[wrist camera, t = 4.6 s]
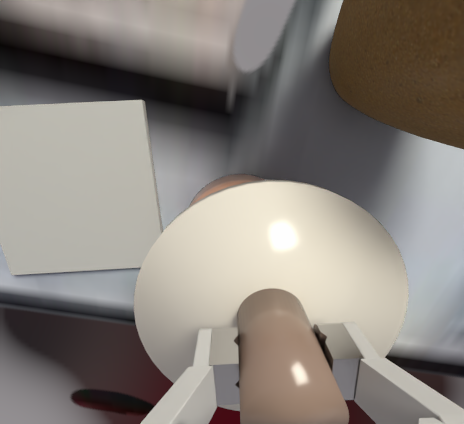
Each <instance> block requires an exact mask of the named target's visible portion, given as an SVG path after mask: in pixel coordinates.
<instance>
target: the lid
mask: <svg viewBox="0 0 464 424" xmlns="http://www.w3.org/2000/svg"><path fill="white" fill-rule="evenodd" d="M408 296H409V295H408V278H407V273H406V268H405V264H404V262H403V259H402V256H401V254H400V251H399V249H398V247H397V246H396V244H395V242H394V241H393V239H392V237H391V236H390V234H389V233H388V232H387V231H386V230H385V228H384V227H383V226H382V225H381V224H380V222H379V221H377V220H376V219H375V218H374V217H373V216H372V215H371V214H369V213H368V212H367V211H366V210H364V209H363V208H361V207H360V206H358V205H357V204H355V203H353V202H352V201H350V200H348V199H346V198H344V197H342V196H340V195H338V194H336V193H333V192H331V191H329V190H327V189H325V188H322V187H318V186H315V185H311V184H308V183H303V182H296V181H290V180H260V181H252V182H246V183H242V184H238V185H234V186H230V187H227V188H224V189H222V190H219V191H217V192H214V193H211V194H209V195H208V196H206V197H204V198H202V199H200V200H199V201H197V202H195V203H193V204H192V205H191V206H189V207H188V208H187V209H185V210H184V211H183V212H181V213H180V214H179V215H178V216H177V217H176V218H175V219H174V220H173V221H172V222H171V223H170V224H169V225H168V226H167V227H166V228H165V230H164V231H163V232H162V234H161V235H160V236H159V238H158V239H157V240H156V242H155V243H154V244H153V246H152V247H151V249H150V250H149V252H148V254H147V256H146V258H145V260H144V261H143V264H142V266H141V269H140V272H139V275H138V278H137V282H136V287H135V293H134V314H135V322H136V326H137V330H138V333H139V337H140V339H141V341H142V344H143V346H144V348H145V350H146V352H147V353H148V355H149V356H150V358H151V360H152V361H153V362H154V364H155V365H156V366H157V367H158V369H159V370H160V371H161V372H162V373H163V374H164V375H165V376H166V377H167V378H168V379H169V380H170V381H172V382H173V383H175V382H176V381H177V380H178V379H179V377H180V376H181V375H182V374H183V373H184V372H185V370H186V369H187V368H188V367H193V361H194V355H195V349H196V343H197V337H198V332H199V330H200V329H207V328H238V346H239V349H238V351H239V374H240V379H239V396H240V404H232V405H219V407H222V408H226V409H231V410H236V411H240V421H241V422H240V423H241V424H348V421H349V412H348V408H347V405H346V403H345V401H344V398H343V396H342V394H341V392H340V389H339V387H338V385H337V382H336V380H335V378H334V376H333V373H332V371H331V369H330V367H329V364H328V362H327V360H326V358H325V355H324V353H323V351H322V348H321V346H320V344H319V342H318V339H317V337H316V335H315V333H314V330H313V327H314V324H321V323H340V322H355V323H356V324H357V325H358V327H359V328H360V330H361V331H362V332H363V334H364V335H365V337H366V338H367V339H368V341H369V342H370V344H371V345H372V347H373V348H374V349H375V351H376V352H377V354H378V355H379V356H380V358H385V356H386V355H387V354H388V352H389V351H390V349H391V348H392V346H393V344H394V343H395V341H396V339H397V337H398V335H399V333H400V330H401V328H402V326H403V322H404V319H405V315H406V312H407V304H408Z"/></svg>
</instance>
